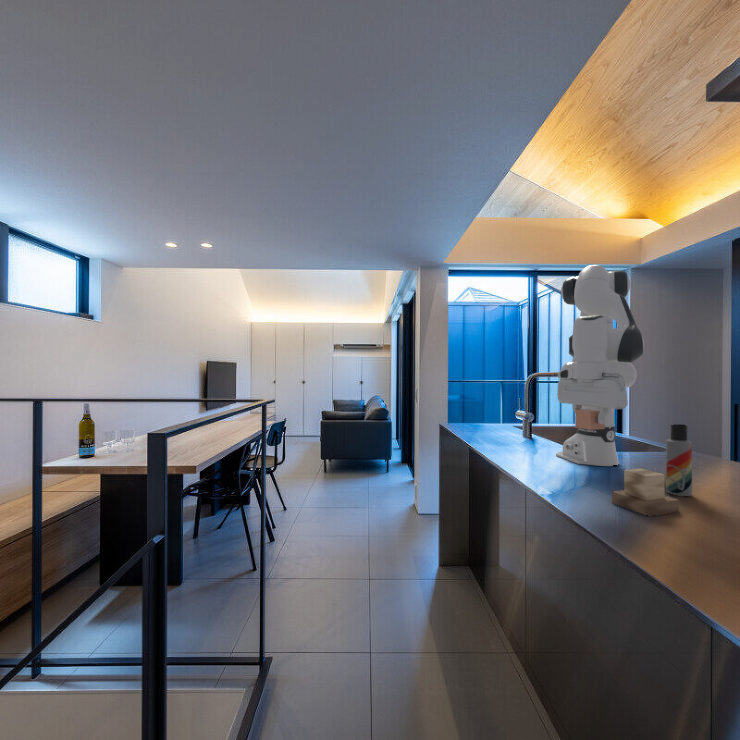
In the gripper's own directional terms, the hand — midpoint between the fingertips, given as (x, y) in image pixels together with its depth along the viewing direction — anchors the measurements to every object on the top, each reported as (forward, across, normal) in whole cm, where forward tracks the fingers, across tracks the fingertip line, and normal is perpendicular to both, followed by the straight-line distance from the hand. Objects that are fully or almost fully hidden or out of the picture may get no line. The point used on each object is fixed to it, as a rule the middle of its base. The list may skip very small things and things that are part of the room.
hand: (589, 422), depth 107 cm
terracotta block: (+2, 0, 0) cm, 2 cm away
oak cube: (+18, -11, -6) cm, 22 cm away
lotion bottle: (+21, -6, -26) cm, 34 cm away
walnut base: (+21, -11, -6) cm, 24 cm away
